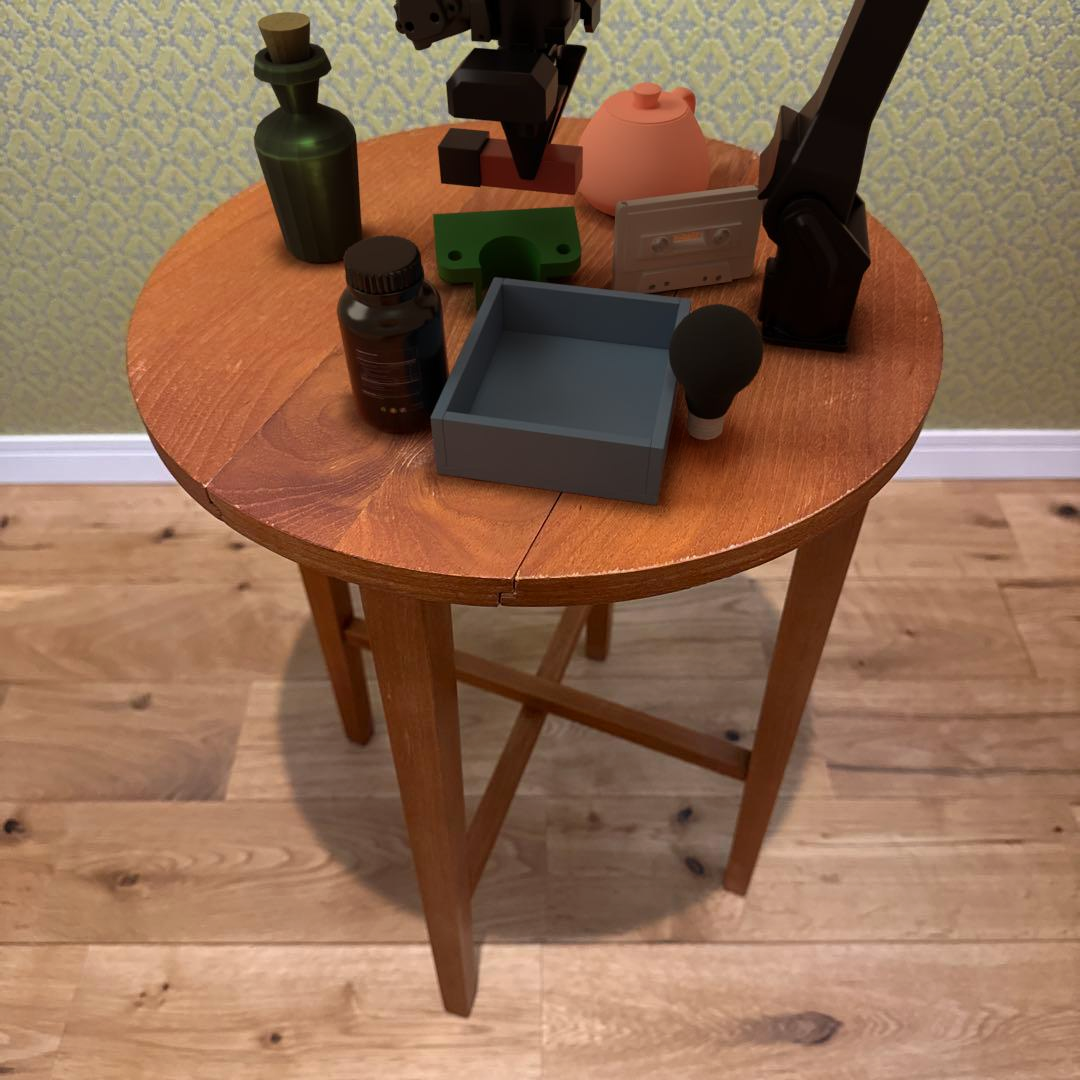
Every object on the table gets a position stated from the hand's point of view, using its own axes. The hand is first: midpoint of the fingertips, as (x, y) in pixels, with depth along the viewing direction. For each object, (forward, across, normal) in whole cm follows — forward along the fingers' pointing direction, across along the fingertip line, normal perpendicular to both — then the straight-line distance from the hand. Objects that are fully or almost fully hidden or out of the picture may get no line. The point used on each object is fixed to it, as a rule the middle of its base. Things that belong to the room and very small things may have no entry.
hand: (532, 169), depth 70 cm
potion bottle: (+11, -4, -20) cm, 23 cm away
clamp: (+11, 0, -2) cm, 11 cm away
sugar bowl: (+11, -19, +6) cm, 23 cm away
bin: (+11, +13, +6) cm, 18 cm away
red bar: (+1, 0, -2) cm, 2 cm away
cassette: (+11, -5, +11) cm, 16 cm away
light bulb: (+11, +14, +15) cm, 23 cm away
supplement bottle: (+11, +15, -6) cm, 20 cm away
